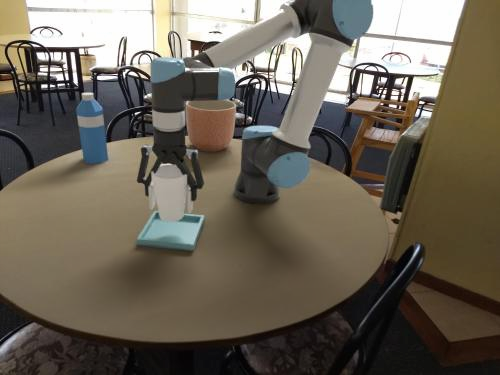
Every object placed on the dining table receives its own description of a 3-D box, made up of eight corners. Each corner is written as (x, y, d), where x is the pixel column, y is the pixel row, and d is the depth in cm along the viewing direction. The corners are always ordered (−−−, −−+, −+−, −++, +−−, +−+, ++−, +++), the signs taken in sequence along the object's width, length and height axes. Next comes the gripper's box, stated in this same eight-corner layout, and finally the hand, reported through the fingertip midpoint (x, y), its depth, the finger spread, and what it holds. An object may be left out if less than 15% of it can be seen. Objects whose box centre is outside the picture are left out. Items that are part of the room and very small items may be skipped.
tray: (204, 221, 108) (204, 215, 107) (193, 251, 95) (193, 244, 94) (155, 216, 109) (154, 210, 108) (137, 245, 96) (136, 239, 95)
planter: (179, 152, 155) (178, 107, 147) (194, 136, 174) (194, 95, 165) (228, 158, 153) (230, 112, 144) (238, 142, 171) (240, 100, 163)
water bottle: (103, 164, 139) (95, 97, 128) (78, 163, 139) (68, 95, 128) (112, 155, 148) (105, 91, 137) (88, 153, 148) (79, 90, 136)
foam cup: (181, 227, 95) (180, 181, 89) (147, 221, 96) (144, 175, 90) (194, 209, 103) (194, 166, 97) (162, 204, 104) (160, 161, 99)
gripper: (217, 126, 92) (215, 206, 102) (129, 118, 93) (135, 197, 103) (212, 135, 85) (210, 220, 95) (117, 127, 86) (125, 211, 96)
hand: (171, 208), depth 99 cm, fingers closed on foam cup, 9 cm apart
